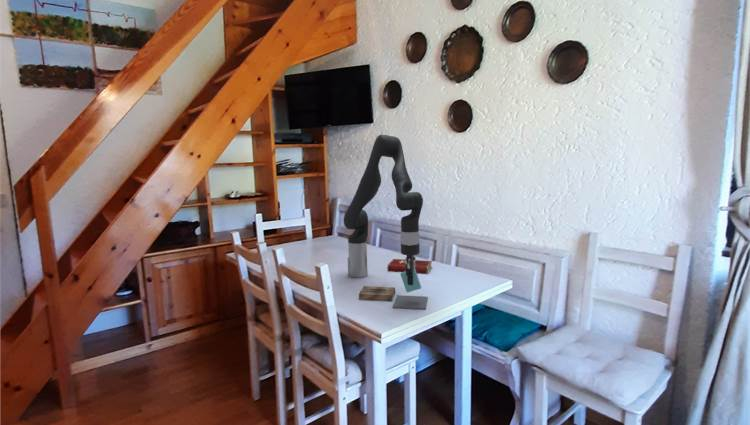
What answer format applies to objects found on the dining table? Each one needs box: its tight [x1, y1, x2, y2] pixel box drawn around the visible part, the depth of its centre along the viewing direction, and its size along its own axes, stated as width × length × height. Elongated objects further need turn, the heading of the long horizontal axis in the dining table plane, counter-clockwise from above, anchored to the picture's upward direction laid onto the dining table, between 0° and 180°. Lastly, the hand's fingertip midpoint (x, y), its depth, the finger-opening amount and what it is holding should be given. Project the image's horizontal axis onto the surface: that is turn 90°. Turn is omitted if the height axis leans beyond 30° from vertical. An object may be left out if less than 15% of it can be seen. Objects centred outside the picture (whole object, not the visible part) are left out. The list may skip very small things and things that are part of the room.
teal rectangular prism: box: [400, 269, 422, 293], centre depth 168 cm, size 6×2×8 cm, turn 78°
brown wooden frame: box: [358, 285, 396, 302], centre depth 178 cm, size 14×10×3 cm
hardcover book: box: [386, 258, 433, 275], centre depth 216 cm, size 12×21×4 cm, turn 72°
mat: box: [392, 294, 429, 311], centre depth 169 cm, size 13×13×1 cm
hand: (410, 283), depth 168 cm, fingers closed on teal rectangular prism, 2 cm apart
